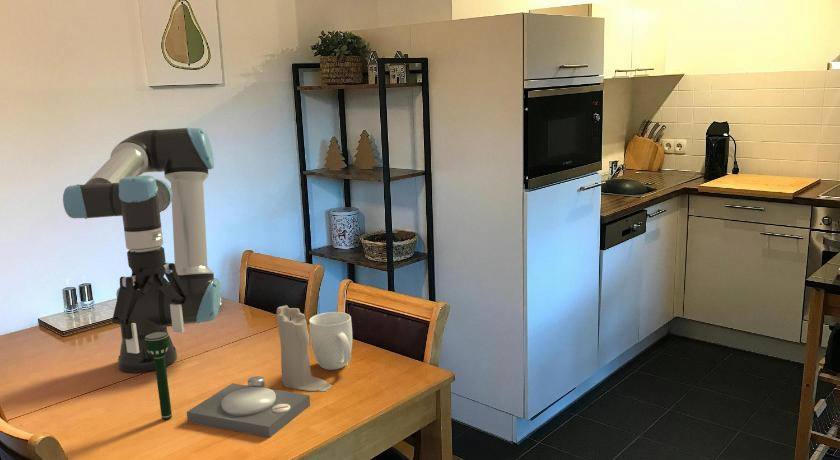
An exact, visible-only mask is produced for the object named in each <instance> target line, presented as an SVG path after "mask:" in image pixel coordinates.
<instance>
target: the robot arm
mask: <svg viewBox="0 0 840 460" xmlns="http://www.w3.org/2000/svg"><path fill="white" fill-rule="evenodd" d="M211 144H212V143H211V141H210V137H209V136H208V133H207V132H206V131H205V130H204V129H203V128H199V127H196V128H195V127H182V128H168V129H167V128H165V129H148V130H144V131H141V132H138V133H135V134H133V135H130V136H128V137H127V138H125V139H124V140H122V141H120V142H119V143H118V144H116V146H115V147H113V149H112V150H111V152H110V157H109V159H107V161H106V162H105V163H104V164H103V165H102V166H101V167H100V168H99V169H98V170H97V171H96V172H95V173H94V174H93V175H92V176H91V178H89V179H88V180H87V182H86V183H84V184H79V183H78V184H75V185H68V186H67V187H65V189H64V190H63V194H62V204H63V208H64V212H65V213H66V215H67V216H68V217H69V218H71V219H85V220H87V219H96V218H107V217H108V218H109V217H122V223H123V230H124V231H123V233H124V240H125V248H126V249H127V250H128V251H127V252H126V254H127V255H126V256H127V257H126V258H127V264H128V267H129V268H130V271H131V275H130V276H120V277H119V288H118V289H117V290H116V294H115V295H116V302H115V306H114V311H113V315H112V320H111V323H112V324H114V325H115V324H116V325H119V326H120V334H121V344H120V350H119V351H120V352H119V355H118V358H117V363H118V369H119V370H120V371H121V372H123V373H124V372H125V373H131V374H139V373H140V374H141V373H148V372H153V371H156V370H155V365H154V364H155V362H154V357H153V356H152V355H151V354H150V353H149V352H148V351H147V349H146V346H145V335H147V334H149V333H152V332H157V331H166V332H168V327H167V326H172V327H171V328H172V332H174V333H185V324H187V325H188V324H201V323H205V322H206V323H207V322H211V321H214V320H215V319H216V317H217V316H218V313H219V311H220V307H221V305H220V299H221V298H222V295H221V294H222V288H221V281H220V279H218V278H217V277H215V273H214V271H213V270H211V269H210V268H209V266H208V251H207V249H208V248H207V232H206V213H205V211H206V210H205V195H204V194H205V191H204V189H205V188H204V182H205V181H206V179H207V178H209V170H212V169H214V167H215V158H214V153H213V152H214V151H213V148H212V145H211ZM157 172H159V173H161V172H163V173H164V178H165V179H166V180H167V181H168V182H169V183H170V185H169V184H168V183H167V182H165V181H164V180H162V179H159V178H155V177H154V176H152V175H142V174H144V173H157ZM170 204H171V211H172V212H171V213H172V214H171V215H172V233H173V234H172V235H173V237H172V238H173V239H172V240H173V255H174V263H173V262H167V261H166V253H165V252H166V251H165V247H163V244H164V238H163V230H162V220H161V213H162V212H164V211H166V210H167V209H168V207H169V206H170ZM221 300H222V299H221ZM168 335H169V333H168ZM169 340H170V344H169V348H168V350H167V352H166V354H165V355H164V356H165V364H166V367H169V366H170V365H172V364H173V363H174V362H176V360H178V354H177V353H178V352H177V349H176V347H175V346H174V343H173V341H172V338H171V336H170V335H169Z"/></svg>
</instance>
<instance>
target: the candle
mask: <svg viewBox="0 0 840 460" xmlns="http://www.w3.org/2000/svg"><path fill="white" fill-rule="evenodd" d="M276 322H277V323H276V324H277V330H278V335H279V341H280V353H281V354H280V364H281V365H280V369H281V370H280V371H281V380H282V381H281V382H282V385H283V386H284V387H285V388H291V389H295V390H300V391H305V392H317V391H318V392H328V391H329V390H330V389H331V388H332V387H333V384H331V383H327V381H326V380H325V379H322V378H319V377H315V376H313V375H312V371H311V365H310V352H309V350H310V349H309V345H310V332H309V331H308V324H307V320H306V316H305V314H304V313H302V312H301V311H300V308H298V307H297V308H296V307H291V308H290V307H289V306H288V305H286V304H285V305H282V306H279V307H277V308H276Z"/></svg>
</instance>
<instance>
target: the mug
mask: <svg viewBox="0 0 840 460" xmlns="http://www.w3.org/2000/svg"><path fill="white" fill-rule="evenodd" d="M308 321H309V338H310V343H311V350H312V351H313V356H314V358H315V360H316V362H317V364H318V365H319V366H320V367H321V368H322V369H324V370H329V371H331V370H334V371H335V370H339V369H342V368H344V367H346V365H347V364H349V363H350V362H351V360H352V349H353V327H352V326H353V324H352V316H351V315H350V314H349V313H346V312H341V311H329V312H323V313H317V314H315V315H313V316H312V317H310V318H309V319H308Z"/></svg>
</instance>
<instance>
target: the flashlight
mask: <svg viewBox="0 0 840 460" xmlns="http://www.w3.org/2000/svg"><path fill="white" fill-rule="evenodd" d="M168 334H169V332H168V331H167V332H166V331H157V332H152V333H149V334H147V335H145V346H146V349H147V351H148V352H149V353H150V354H151V355H152V356H153V357H154V362H155V364H154V365H155V370H154V371H155V376H156V382H157V392H158V393H157V394H158V399H159V407H160V409H159V410H160V416H161V419H162V421H169V420H171V419H172V417H173V413H172V405H171V397H170V390H169V389H170V388H169V383H168V382H169V381H168V375H167V366H166V364H165V356H164V355H165V354H166V352H167V350H168V348H169V344H170V340H169V336H170V335H168Z"/></svg>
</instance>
